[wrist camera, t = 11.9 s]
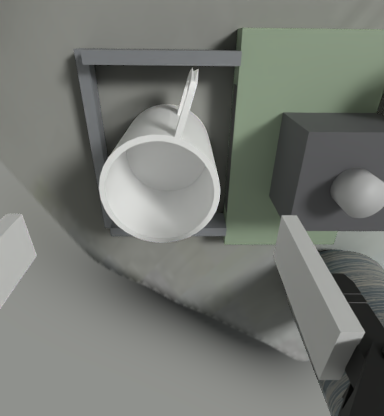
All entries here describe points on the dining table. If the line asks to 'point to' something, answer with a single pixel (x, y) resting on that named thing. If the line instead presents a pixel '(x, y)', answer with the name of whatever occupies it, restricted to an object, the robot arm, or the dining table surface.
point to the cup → (162, 173)
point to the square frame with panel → (282, 129)
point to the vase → (374, 295)
